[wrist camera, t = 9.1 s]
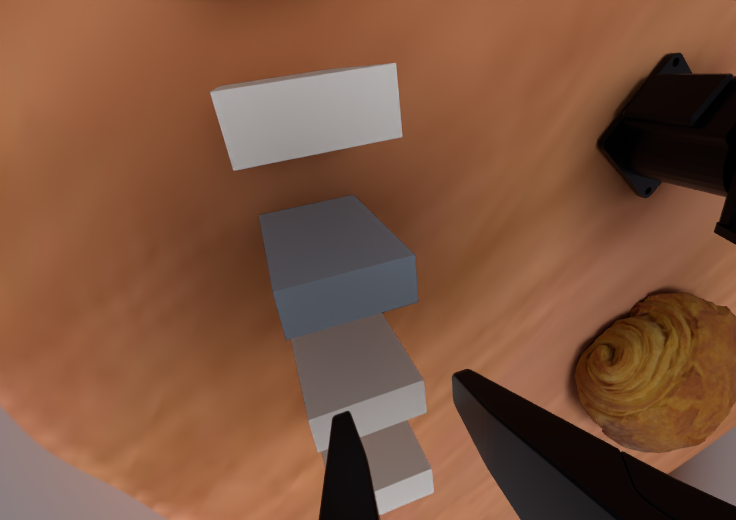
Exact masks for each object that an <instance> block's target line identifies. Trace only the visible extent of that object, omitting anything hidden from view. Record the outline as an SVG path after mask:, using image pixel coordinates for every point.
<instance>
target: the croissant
mask: <svg viewBox="0 0 736 520" xmlns="http://www.w3.org/2000/svg"><path fill="white" fill-rule="evenodd" d="M575 381H576V384H577V391H578V394H579V399H580V400H581V405H582V406H583V407H584V409H585V410H586V412H587V413H588V415H589V416H590V417H591V418H592V420H593V421H594V423H596V424H598V425H599V426H600V427H601V428H602V429H603V430H602V432H603V433H604V434H605V435H606V436H607V437H609V438H610V439H612V440H613V441H615V442H617V443H618V444H620V445H621V446H623V447H625V448H629V449H633V450H637V451H641V452H654V453H661V452H669V451H672V450H676V449H680V448H686V447H691V446H696V445H699V444H701V443H702V442H703V441H705V439H706V437H708V436H709V435H711V434H712V433H713V432H714V431H715V430H716V429H717V427H718V426H719V425H720V423H721V422H722V421H723V420H724V419H725V418H726V417H727V416H728V414H729V413H730V411H731V408H732V406H733V405H734V404H735V402H736V316H735V315H734V314H733V313H732V312H731V311H730V309H729V308H728V307H727V306H717V305H715V304H714V303H712V302H708V301H706V300H704V299H701V298H697V297H696V296H694V295H692V294H688V293H683V292H680V293H661V294H656V295H651V296H648V297H647V299H645V301H644V302H638V303H636V305H635V306H634V307H633V308H632V309H631V311H630V318H626V319H621V320H616V322H615V323H614V324H613V325H612V326H611V327H610V328H608V329H607V330H606V331H605V332H604V333H603V334H602V335H601V336H599V337H598V338H597V339H596V340H595V341H594V343H593V344H592V345H591V346H590V347H588V348H587V349H586V350H585V351H584V352H583V353H582V355H581V357H580V359H579V361H578V364H577V366H576V372H575Z"/></svg>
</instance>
